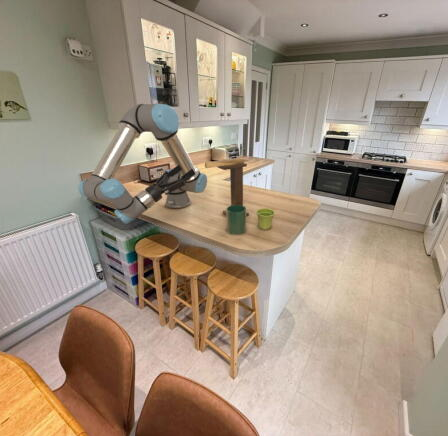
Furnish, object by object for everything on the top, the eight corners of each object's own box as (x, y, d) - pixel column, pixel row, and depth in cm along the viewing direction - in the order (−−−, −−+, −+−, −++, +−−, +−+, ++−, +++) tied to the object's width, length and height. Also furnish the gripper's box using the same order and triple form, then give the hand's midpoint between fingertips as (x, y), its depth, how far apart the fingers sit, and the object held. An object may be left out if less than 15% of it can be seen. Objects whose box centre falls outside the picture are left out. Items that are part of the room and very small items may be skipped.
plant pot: (272, 222, 127) (273, 208, 123) (275, 231, 119) (276, 215, 115) (255, 223, 127) (255, 208, 123) (256, 231, 118) (257, 216, 115)
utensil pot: (223, 228, 121) (222, 207, 116) (239, 223, 126) (238, 203, 121) (233, 236, 114) (233, 214, 109) (249, 231, 119) (249, 209, 114)
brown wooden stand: (217, 214, 136) (215, 163, 123) (238, 209, 144) (237, 160, 131) (227, 221, 128) (225, 167, 115) (248, 215, 136) (249, 164, 123)
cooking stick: (205, 167, 116) (204, 162, 115) (241, 161, 127) (241, 157, 126) (207, 168, 114) (206, 163, 113) (243, 162, 125) (243, 158, 124)
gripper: (145, 196, 114) (179, 171, 121) (166, 210, 96) (204, 180, 103) (135, 184, 109) (171, 159, 116) (155, 196, 91) (196, 166, 99)
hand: (186, 169), depth 110 cm, fingers open, 13 cm apart
